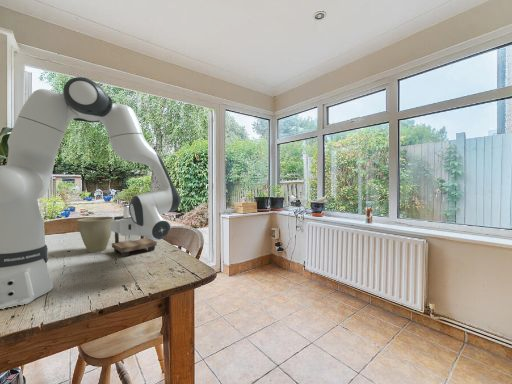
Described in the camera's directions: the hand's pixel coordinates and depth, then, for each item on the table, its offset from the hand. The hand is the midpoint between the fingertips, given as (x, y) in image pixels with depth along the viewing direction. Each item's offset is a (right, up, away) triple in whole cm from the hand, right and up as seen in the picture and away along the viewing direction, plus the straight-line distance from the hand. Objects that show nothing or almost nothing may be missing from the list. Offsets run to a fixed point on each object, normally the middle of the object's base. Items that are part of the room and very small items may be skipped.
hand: (131, 220), depth 103 cm
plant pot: (-24, -16, +12) cm, 31 cm away
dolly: (-4, -16, +10) cm, 20 cm away
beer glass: (+1, -9, 0) cm, 9 cm away
